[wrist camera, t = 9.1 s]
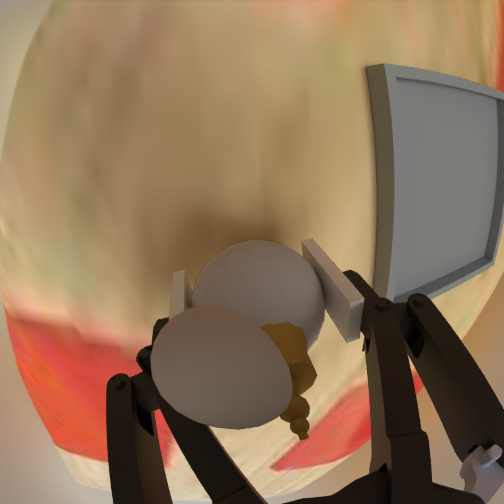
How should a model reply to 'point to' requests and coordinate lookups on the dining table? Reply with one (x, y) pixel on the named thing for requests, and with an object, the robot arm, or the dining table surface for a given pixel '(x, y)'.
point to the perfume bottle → (244, 340)
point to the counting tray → (435, 179)
